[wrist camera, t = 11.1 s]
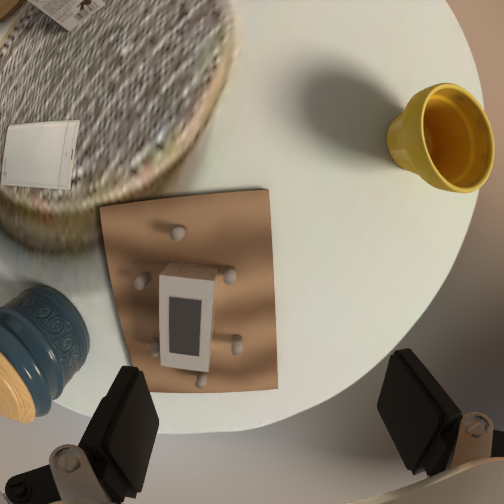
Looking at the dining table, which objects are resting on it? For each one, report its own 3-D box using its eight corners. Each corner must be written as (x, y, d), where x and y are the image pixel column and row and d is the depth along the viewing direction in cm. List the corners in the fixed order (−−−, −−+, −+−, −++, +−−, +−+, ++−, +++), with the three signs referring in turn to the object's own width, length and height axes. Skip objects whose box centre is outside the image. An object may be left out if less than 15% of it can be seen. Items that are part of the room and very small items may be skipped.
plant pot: (432, 199, 30) (487, 209, 20) (362, 170, 29) (410, 168, 20) (446, 124, 28) (498, 114, 18) (380, 88, 27) (425, 61, 17)
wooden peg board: (103, 206, 29) (88, 209, 25) (268, 189, 29) (271, 190, 26) (143, 386, 34) (136, 403, 31) (277, 383, 35) (280, 401, 31)
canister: (90, 379, 34) (36, 465, 17) (23, 344, 33) (-41, 405, 16) (96, 305, 32) (13, 389, 14) (22, 269, 30) (-68, 319, 13)
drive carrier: (170, 261, 30) (158, 275, 25) (218, 266, 30) (214, 281, 25) (169, 343, 32) (160, 366, 27) (212, 349, 32) (208, 373, 28)
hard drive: (0, 185, 26) (65, 190, 27) (8, 124, 25) (75, 118, 25) (7, 184, 28) (72, 189, 29) (15, 126, 26) (82, 121, 27)
